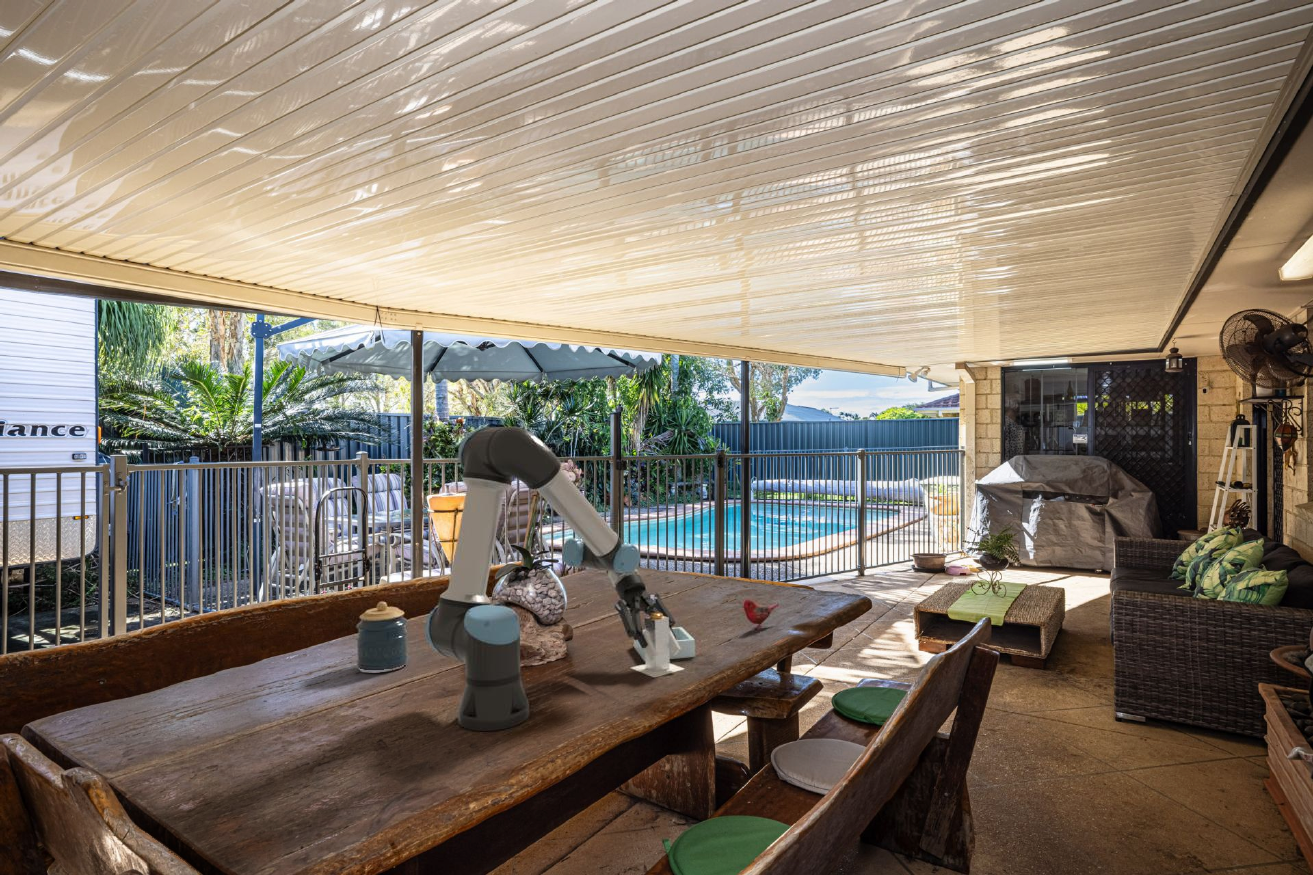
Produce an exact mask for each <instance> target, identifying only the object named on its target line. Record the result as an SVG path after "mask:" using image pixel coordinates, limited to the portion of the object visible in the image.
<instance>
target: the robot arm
mask: <svg viewBox="0 0 1313 875" xmlns="http://www.w3.org/2000/svg"><path fill="white" fill-rule="evenodd" d="M458 448H459V449H458V452H457V454H458V455H457V456H458V463H459V464H460V465H461V466H460V467H461V468H462V469H463V472H462V478H461V480H462V481H463V483H464V484H465V486H466V492H465V496H464V502H463V508H462V514H461V517H460V518H461V519H460V525H459V530H458V534H457V539H456V540H457V541H456V546H455V551H454V556H453V562H452V567H451V572H450V577H449V583H448V586H447V587H448V588H447V589H446V590H445V591H444V592H442V593H441V594H440V596H439V599H438V604H437V605H436V606H434V609H433V610H431V611H430V613H429V614H428V616H427V618H426V621H425V625H424V633H425V638H426V641H427V643H428V644H429V645H430V647H431V648H432V649H433V650H434V651H435V652H437V653H439V654H440V655H441V656H444V657H447V658H452V659H454V660H456V661H457V660H458V661H460V662H462V663H464V664H465V688H464V690H463V694H462V696H461V700H460V703H459V706H458V711H457V723H458V725H459V726H460V725H461V726H460V727H462V728H463V727H464V728H463V729H465V730H469V731H477V732H490V731H493V732H494V731H501V730H505V729H509V728H514V727H516V726H518V725H520V724H522V723H524V722H526V720H528V718H529V717H530V703H529V701H528V698H527V695H526V692H525V689H524V687H523V684H522V680H521V631H522V630H521V625H520V619H519V618H520V617H519V615H518V613H517V612H516V611H515V610H513V609H512V608H510V607H508V606H504V605H495V604H492V603H491V602H492V601H491V600H490V598H489V597H488V595H487V594H486V593H487V588H488V581H489V576H490V570H491V565H492V559H493V554H494V547H495V542H496V537H497V533H498V532H497V530H498V526H499V519H500V514H501V508H502V502H503V499H504V494H505V492H506V491H507V490H509V489H510V488H511V487H512V483H513V478H515V479H516V480H519V481H521V482H522V483H523V484H525V486H527V489H529V490H531V491H537V492H538V494H539V495H540V496H542V498H543V499H544V501H545V502H547V504H548V505H549V506H550V507H551V508H552V509H553V510H554V511H555V513H556V514H557V515H558V516H559V517H560V518H561V519H562V521H564V522H565V524H567V526H568V527H569V529H571V530H572V531H573V532H574V534H576V535H577V537H575V538H568V539H567V540H566V541H565V542H564V544H563V546H562V551H561V557H562V560H563V562H564V564H565V565H566V566H568V567H570V568H572V567H573V568H574V567H575V568H586V569H588V568H589V569H594V570H599V571H600V570H601V571H605V572H606V574H607V576H608V577H609V579H610V582H611V583H612V586H613V587H615V588H614V589H615V591H616V593H617V595H618V597H619V599H618V601H617V602H616V603H615V605H614V609H615V610H616V611H617V613H618V614H619V616H620V619H621V622H622V624H623V627H624V629H625V632H626V634H627V638H629V639H630V638H633V641H634V640H638V642H639V643H640V646H641V647H642V648H644V649H645V651H646V653H647V655H648V657H649V659H650V661H652V660H654V658H655V657H656V656H657V652H656V650H655V648H654V647H653V645H652V643H651V641H650V639H649V637H648V635H647V633H646V632H645V633H643V634H642V632H643V630H644V629H643V626H642V625H643V624H642V620H641V613H640V612H644V614H645V615H648V617H649V616H650V614H652V613H662V614H663V616H665V617H668V618H669V647H670V649H671V650H672V652H673V654H674V655H676V654H677V653H678V652H679V650H680V649H681V648H680V646H679V644H678V642H677V641H676V635H675V633H674V631H673V630H672V628H674V626H675V624H676V622H677V621H676V620H675V619H674V617H673V616H672V614H671V613H670V611H669V610H668V608H667V607H666V605H665V604H664V602H663V601H662V599H661V598H662V597H661V596H660V593H658V592H656V593H655V595H654V594H651V593H650V592H648V591H647V588H646V585H645V582H644V581H643V579H642V577H641V575H640V573H639V571H638V569H637V568H638V566H639V564H640V560H641V555H640V551H639V549H638V547H637V546H636V545H635V544H631V543H629V542H624V541H623V540H622V539H621V538H620V537H619V535H618V533H617V532H616V531H614V530H613V529H612V527H611V526H610V525H609V524H608V523H607V522H606V521H605V519H604V518H603V517H602V516H601V515H600V514H599V512H598V511H597V509H595V507H594V506H593V505H592V504H591V503H590V502H589V500H588V499H587V498H586V497H585V496H584V494H583V493H582V492H581V491H580V489H579V488H578V487H577V486H576V485H575V484H574V483H573V481H572V480H571V479H570V478H569V477H568V475H567V474H566V473H565V472H564V471H563V469H562V467H563V465H562V461H561V460H560V459H559V458H558V457H557V456H556V454H555V453H554V452H553V451H552V450H551V449H550V448H549V447H548V446H547V445H546V443H544V442H543V441H542V440H541V439H540V438H538V437H537V436H536V435H535V434H533V433H532V432H531V431H529V430H527V429H525V428H523V427H522V428H521V427H519V426H502V427H500V426H499V427H498V426H497V427H496V426H495V427H489V426H487V427H481V428H479V429H478V428H477V429H475V430H473V431H471V432H470V433H468V434H467V435H466V436H464V438H463V440H462V441H461V442H460V444H459V447H458Z"/></svg>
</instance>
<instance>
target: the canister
mask: <svg viewBox="0 0 1313 875" xmlns="http://www.w3.org/2000/svg"><path fill="white" fill-rule="evenodd" d="M404 615H405V611H404V610H401V609H400V608H399V607H395V606H388V604H387V602H385V601H379V602H378V603H377V605H376V607H375V608H370V609H367V610H366V611H364V613H362V614H361V615H359V619H360V621H359V622H358V623H357V624H356V626H355V627H356V629H357V630H358V635H357V637H356V641H357V644H356V645H357V646H356V648H357V660H356V662H357V664H356V666H357V668H358V667H359V668H360V669H364V670H384V669H393V668H396V667H400V666H402V665H404V664H406V662H407V663H408V660H409V653H408V635H409V634H408V631H407V629H406V628H407V626H406V625H407V624H408V622H409V621H408V619H407V618H405V617H404Z"/></svg>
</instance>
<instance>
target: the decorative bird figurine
mask: <svg viewBox="0 0 1313 875" xmlns="http://www.w3.org/2000/svg"><path fill="white" fill-rule="evenodd" d="M778 606H779V603H776V604H774V605H772V606H769V607H768V606H765V605H761V604H756V602H754V600H751V599H745V601H744V602H743V606H742V609H743V610H744V612H745V616H746V618H747V620H748V621H749V622H750V623H752V624H754V625H757V626H755V627H754V628H752V630H758V629H760V628H761V627H762V628H763V625H762V624H763V623H765V621H766V620H767V619H768V618H769V617H770V614H771V613H772V611H773V610H774V609H776V608H777V607H778Z"/></svg>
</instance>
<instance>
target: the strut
mask: <svg viewBox="0 0 1313 875" xmlns="http://www.w3.org/2000/svg"><path fill="white" fill-rule="evenodd" d="M644 630H645V632H646V633H647V635H648V637H649V639H650V641H651V643H652V645H653V647H654V648H655V650H656V652H657V656H656V657H655V658H654V660H652V661H650V659H649V657H648V655H647V653H646V651H645V661H644V662H645V666H646V668H647V669H649V670H652V671H654V672H659V671H662V670H666V669H670V664H671V663H670V662H671V661H670V660H671V659H669V618H668V617H665V616H663V614H662V613H652V614H650V616H649V615H648V616H645V617H644Z"/></svg>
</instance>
